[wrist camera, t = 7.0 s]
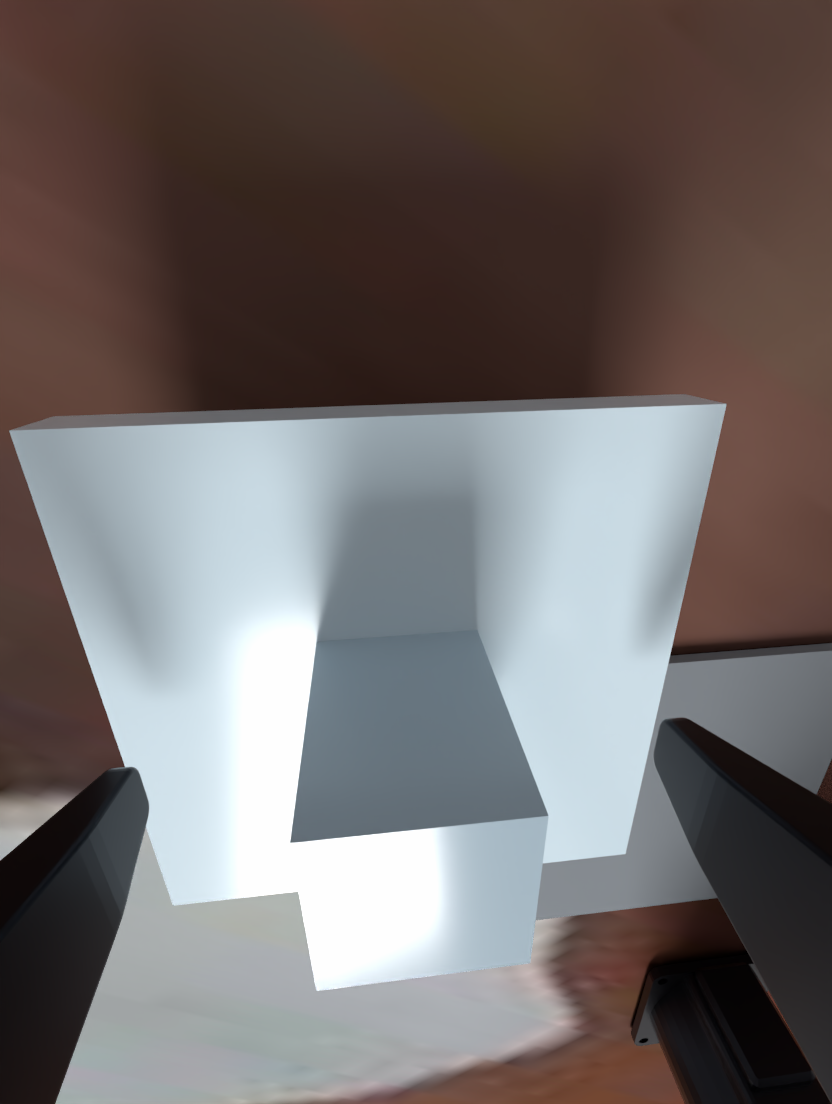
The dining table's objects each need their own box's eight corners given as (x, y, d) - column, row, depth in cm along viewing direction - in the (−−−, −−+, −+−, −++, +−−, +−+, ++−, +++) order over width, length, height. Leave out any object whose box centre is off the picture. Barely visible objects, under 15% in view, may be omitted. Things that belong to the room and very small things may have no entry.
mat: (768, 881, 23) (775, 890, 23) (485, 915, 22) (487, 926, 22) (869, 640, 18) (879, 646, 17) (500, 669, 17) (503, 677, 16)
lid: (604, 812, 14) (729, 1062, 9) (188, 856, 13) (91, 1161, 8) (684, 394, 9) (1009, 468, 5) (53, 416, 8) (-325, 535, 4)
